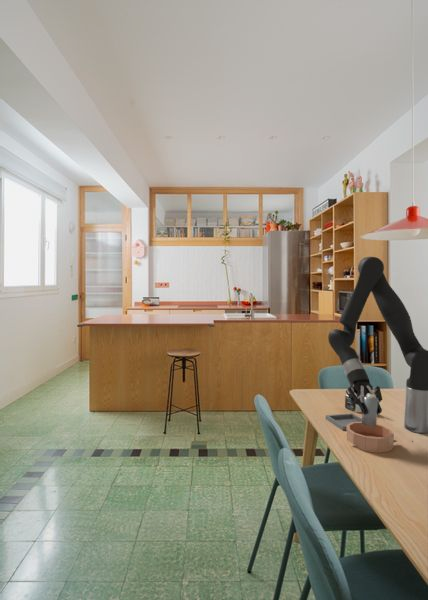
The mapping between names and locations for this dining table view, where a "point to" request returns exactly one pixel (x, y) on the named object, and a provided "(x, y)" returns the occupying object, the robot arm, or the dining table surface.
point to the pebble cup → (370, 410)
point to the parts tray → (343, 420)
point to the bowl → (370, 437)
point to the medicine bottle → (351, 404)
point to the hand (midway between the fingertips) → (373, 413)
